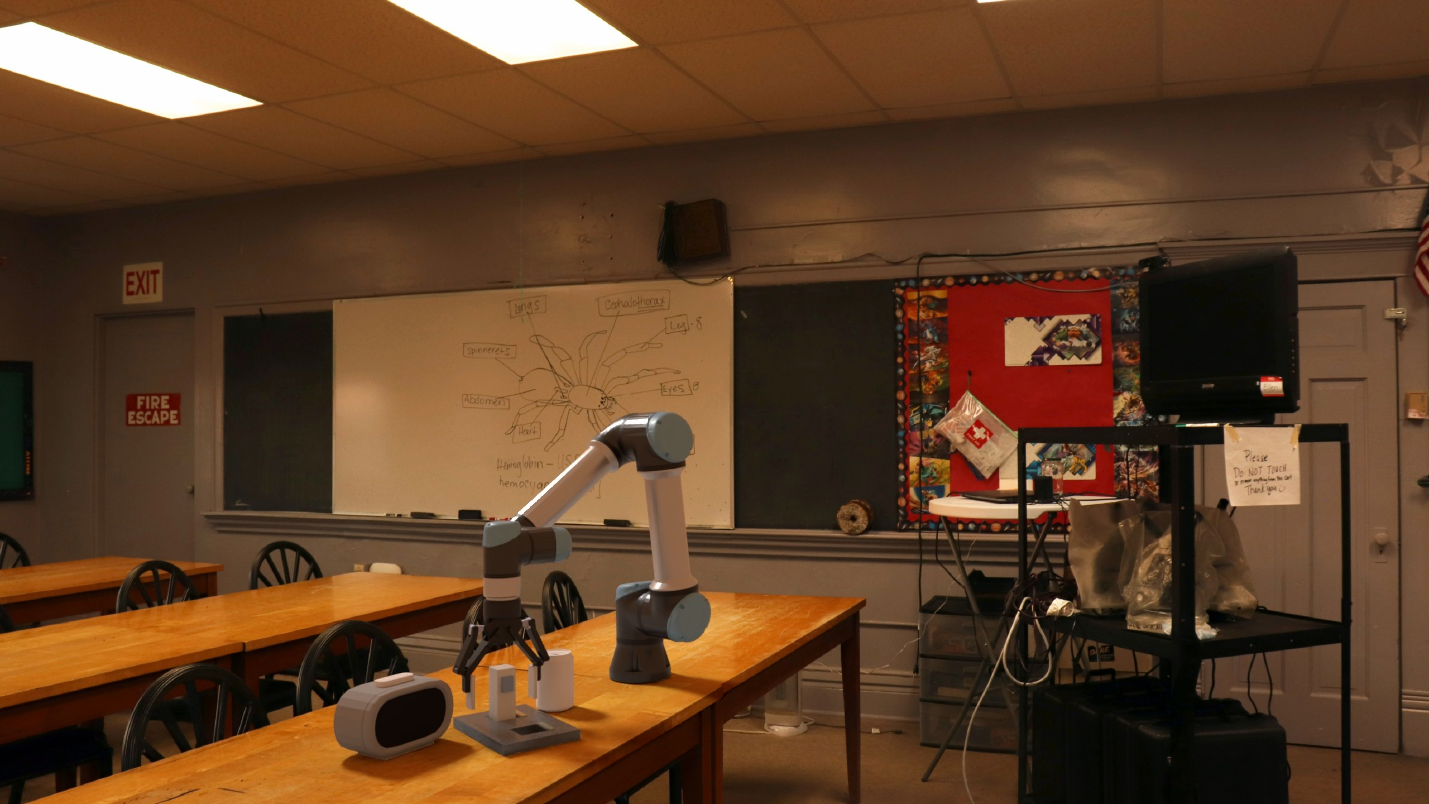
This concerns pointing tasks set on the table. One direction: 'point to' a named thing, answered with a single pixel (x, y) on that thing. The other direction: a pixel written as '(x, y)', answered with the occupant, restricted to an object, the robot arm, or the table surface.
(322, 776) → the table surface
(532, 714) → the panel
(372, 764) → the table surface
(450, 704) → the alarm clock
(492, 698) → the plug
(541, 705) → the beverage can
